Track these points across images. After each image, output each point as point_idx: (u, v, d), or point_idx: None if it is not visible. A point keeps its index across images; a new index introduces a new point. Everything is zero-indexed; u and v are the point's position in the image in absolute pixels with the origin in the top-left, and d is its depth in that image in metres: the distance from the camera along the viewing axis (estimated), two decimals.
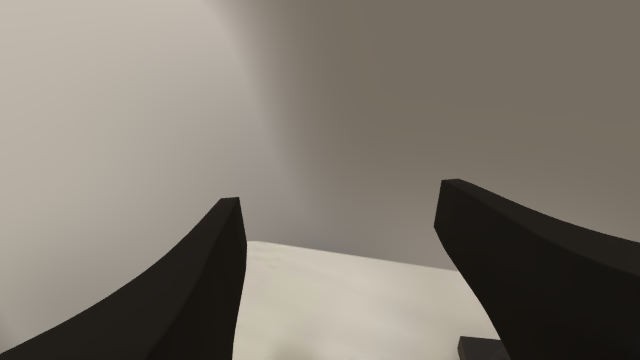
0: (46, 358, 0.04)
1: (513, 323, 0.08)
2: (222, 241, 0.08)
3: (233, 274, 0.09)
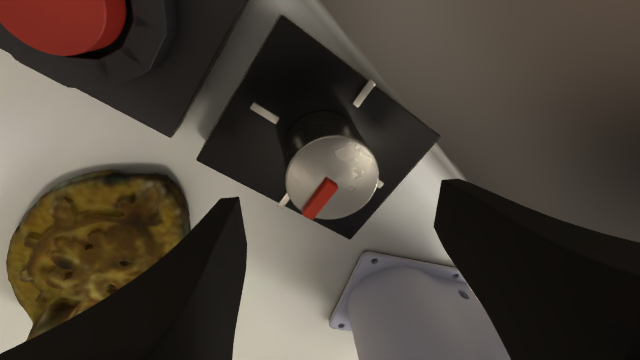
0: (46, 358, 0.04)
1: (513, 323, 0.08)
2: (222, 241, 0.08)
3: (233, 274, 0.09)
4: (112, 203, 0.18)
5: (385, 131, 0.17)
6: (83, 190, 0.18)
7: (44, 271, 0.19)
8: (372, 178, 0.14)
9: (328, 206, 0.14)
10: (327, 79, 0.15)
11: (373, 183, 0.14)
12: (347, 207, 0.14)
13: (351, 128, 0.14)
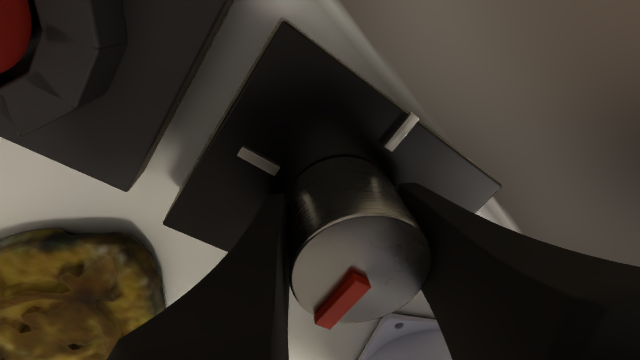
0: (169, 343, 0.04)
1: (456, 330, 0.08)
2: (280, 235, 0.09)
3: (285, 268, 0.09)
4: (52, 275, 0.13)
5: (427, 181, 0.12)
6: (11, 259, 0.13)
7: None
8: (421, 269, 0.09)
9: (352, 307, 0.09)
10: (349, 113, 0.10)
11: (422, 276, 0.09)
12: (381, 307, 0.10)
13: (387, 189, 0.10)
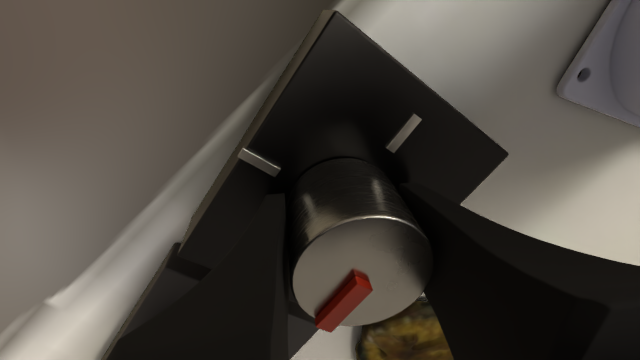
0: (169, 343, 0.04)
1: (457, 330, 0.08)
2: (280, 235, 0.09)
3: (285, 268, 0.09)
4: None
5: (319, 121, 0.10)
6: None
7: None
8: (424, 272, 0.09)
9: (353, 310, 0.09)
10: (244, 207, 0.11)
11: (424, 279, 0.09)
12: (383, 310, 0.10)
13: (389, 191, 0.09)
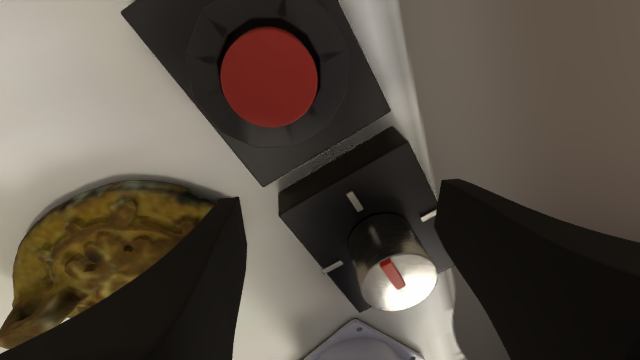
0: (46, 358, 0.04)
1: (513, 323, 0.08)
2: (222, 241, 0.08)
3: (233, 274, 0.09)
4: (173, 219, 0.18)
5: (431, 243, 0.20)
6: (153, 199, 0.18)
7: (67, 257, 0.18)
8: (383, 306, 0.17)
9: (380, 275, 0.16)
10: (412, 194, 0.18)
11: (378, 306, 0.17)
12: (370, 287, 0.16)
13: None
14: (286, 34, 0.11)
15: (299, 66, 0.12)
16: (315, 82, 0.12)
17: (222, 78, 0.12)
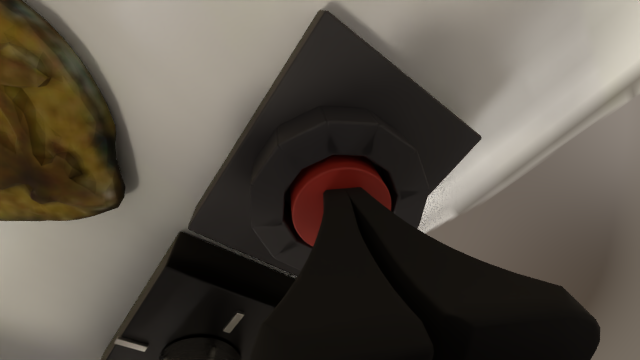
0: (320, 324, 0.04)
1: None
2: None
3: None
4: (56, 140, 0.12)
5: None
6: (72, 104, 0.11)
7: None
8: None
9: None
10: None
11: None
12: None
13: None
14: (390, 209, 0.12)
15: None
16: None
17: (327, 173, 0.11)
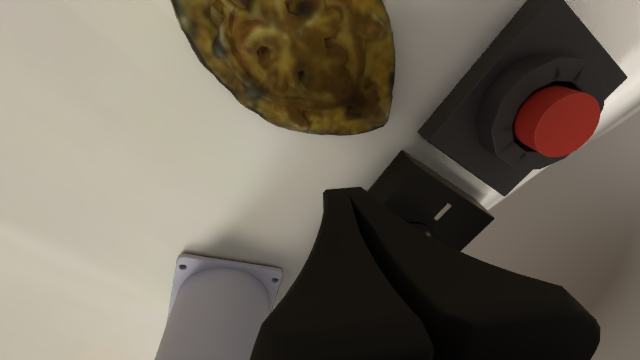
0: (321, 325, 0.04)
1: None
2: None
3: None
4: (371, 76, 0.18)
5: None
6: (387, 52, 0.18)
7: None
8: None
9: None
10: (454, 243, 0.24)
11: None
12: None
13: None
14: (597, 124, 0.17)
15: (578, 140, 0.18)
16: (568, 153, 0.18)
17: (568, 96, 0.16)
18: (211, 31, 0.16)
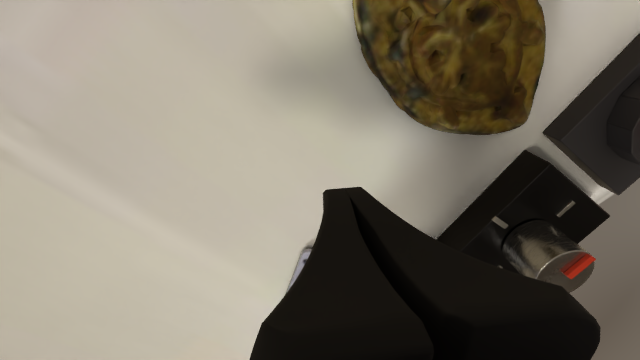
0: (321, 325, 0.04)
1: None
2: None
3: None
4: (521, 79, 0.20)
5: None
6: (539, 56, 0.19)
7: None
8: (540, 277, 0.21)
9: (574, 259, 0.21)
10: None
11: (541, 274, 0.21)
12: (562, 259, 0.20)
13: None
14: None
15: None
16: None
17: None
18: (390, 35, 0.18)
